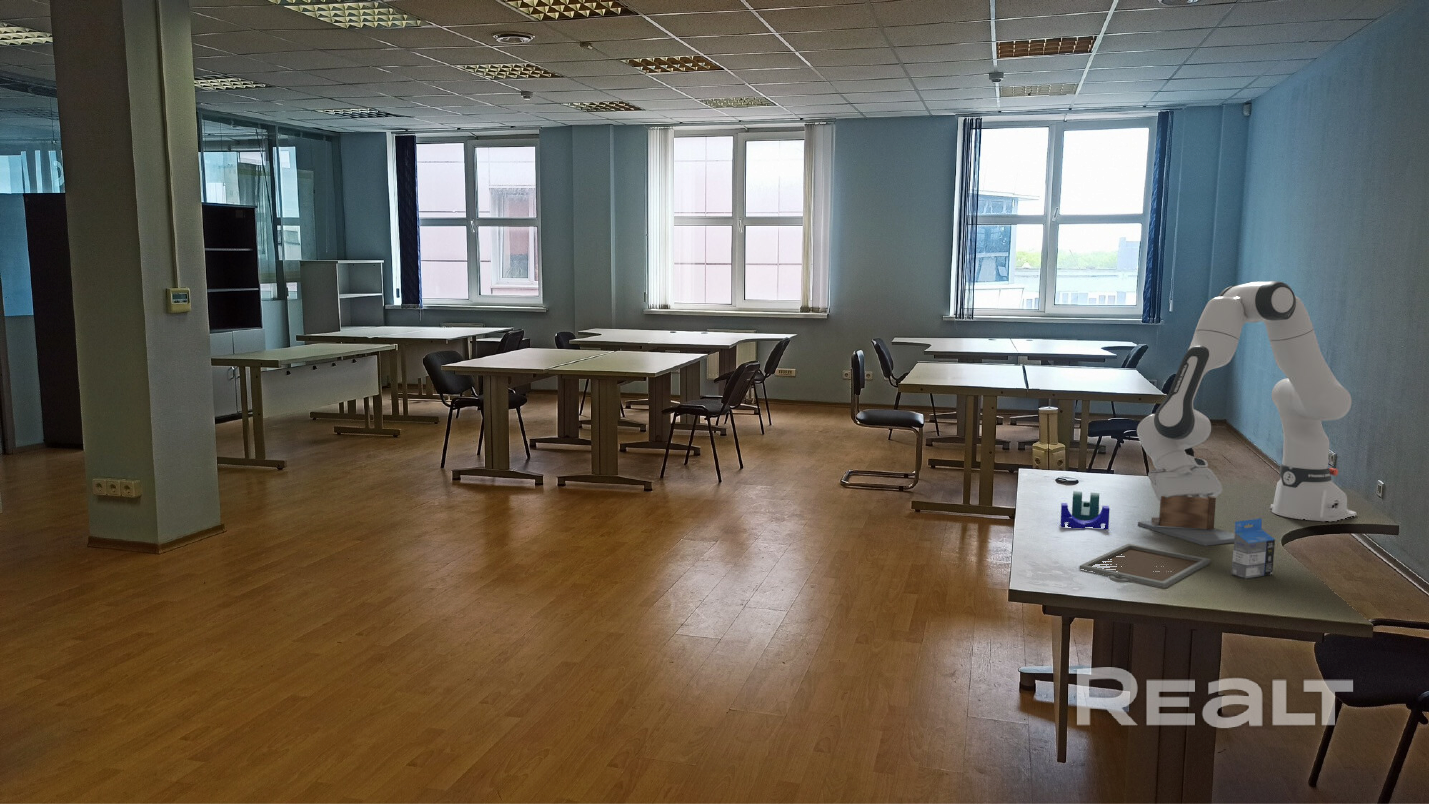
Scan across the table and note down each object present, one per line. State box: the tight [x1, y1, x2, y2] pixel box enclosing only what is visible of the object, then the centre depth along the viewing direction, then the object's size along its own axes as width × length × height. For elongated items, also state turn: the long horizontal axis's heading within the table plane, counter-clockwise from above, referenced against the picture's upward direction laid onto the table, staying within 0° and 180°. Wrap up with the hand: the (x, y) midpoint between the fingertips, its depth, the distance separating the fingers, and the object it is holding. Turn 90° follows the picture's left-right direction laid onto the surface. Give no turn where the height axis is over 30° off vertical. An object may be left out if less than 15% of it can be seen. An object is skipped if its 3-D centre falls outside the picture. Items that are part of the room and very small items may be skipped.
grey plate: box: [1137, 519, 1235, 547], centre depth 257 cm, size 14×22×1 cm, turn 21°
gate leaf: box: [1150, 496, 1217, 530], centre depth 257 cm, size 15×2×8 cm, turn 76°
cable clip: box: [1060, 502, 1111, 530], centre depth 263 cm, size 12×4×6 cm, turn 73°
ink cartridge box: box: [1230, 518, 1276, 580], centre depth 220 cm, size 9×4×12 cm, turn 114°
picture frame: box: [1079, 543, 1210, 589], centre depth 226 cm, size 19×2×30 cm
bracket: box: [1071, 490, 1100, 521], centre depth 276 cm, size 18×7×8 cm, turn 157°
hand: (1201, 511), depth 258 cm, fingers closed
